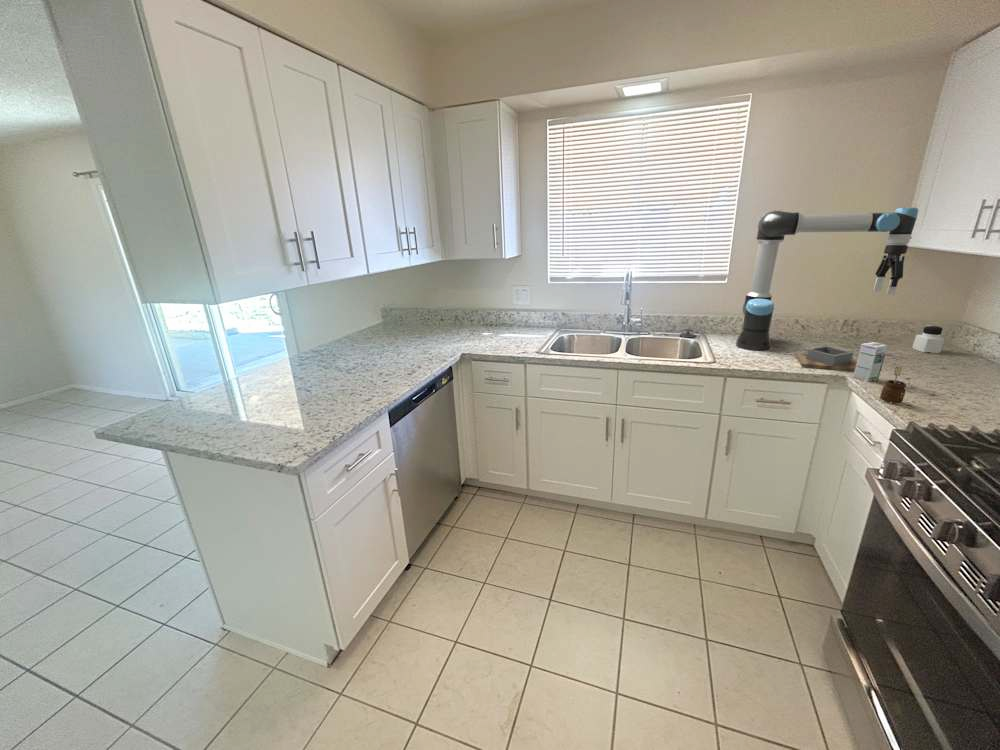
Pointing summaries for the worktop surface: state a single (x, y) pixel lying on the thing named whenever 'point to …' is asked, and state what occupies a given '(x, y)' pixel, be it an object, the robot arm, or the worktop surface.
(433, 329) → the worktop surface
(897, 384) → the brown potted plant
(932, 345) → the medicine bottle
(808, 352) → the holder
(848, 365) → the walnut board
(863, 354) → the syrup box
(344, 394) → the worktop surface
